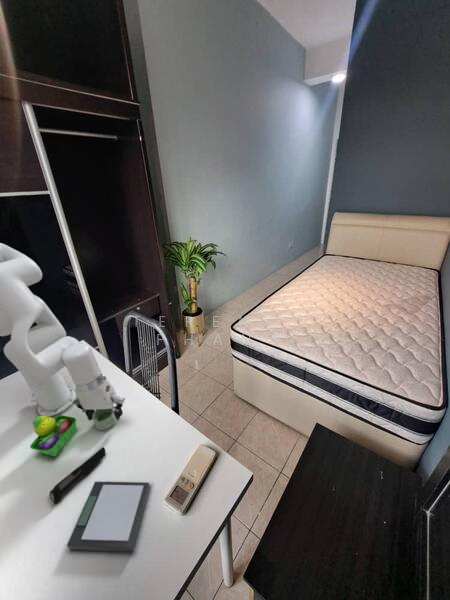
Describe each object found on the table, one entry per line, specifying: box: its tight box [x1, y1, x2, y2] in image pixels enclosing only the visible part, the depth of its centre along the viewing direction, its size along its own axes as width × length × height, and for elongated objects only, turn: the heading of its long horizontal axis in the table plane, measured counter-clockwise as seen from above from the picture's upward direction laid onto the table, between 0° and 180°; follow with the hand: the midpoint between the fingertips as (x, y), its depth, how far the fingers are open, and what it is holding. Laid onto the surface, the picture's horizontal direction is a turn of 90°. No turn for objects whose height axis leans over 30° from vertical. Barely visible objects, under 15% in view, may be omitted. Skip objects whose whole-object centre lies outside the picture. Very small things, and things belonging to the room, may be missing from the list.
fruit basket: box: [29, 414, 77, 458], centre depth 78 cm, size 11×9×11 cm
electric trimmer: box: [49, 446, 106, 504], centre depth 70 cm, size 4×16×3 cm, turn 142°
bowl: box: [91, 408, 117, 431], centre depth 85 cm, size 7×7×5 cm
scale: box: [66, 481, 151, 553], centre depth 62 cm, size 15×13×3 cm
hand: (106, 416), depth 84 cm, fingers open, 9 cm apart
